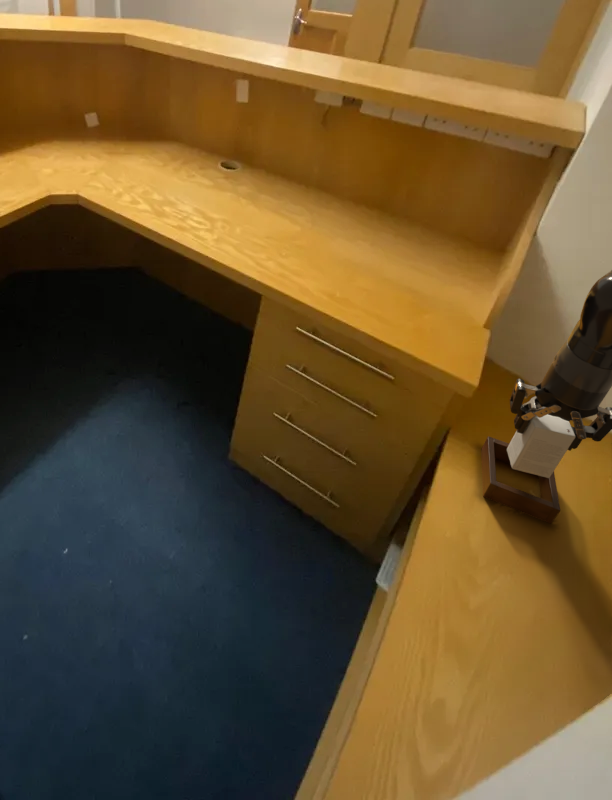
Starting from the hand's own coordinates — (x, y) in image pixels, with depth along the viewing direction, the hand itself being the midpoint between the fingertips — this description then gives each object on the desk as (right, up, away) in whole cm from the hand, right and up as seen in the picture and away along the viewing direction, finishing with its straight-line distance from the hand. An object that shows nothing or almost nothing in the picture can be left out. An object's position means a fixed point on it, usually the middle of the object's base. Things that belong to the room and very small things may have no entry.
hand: (542, 437), depth 88 cm
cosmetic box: (0, -7, +4) cm, 8 cm away
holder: (0, -13, +8) cm, 16 cm away
